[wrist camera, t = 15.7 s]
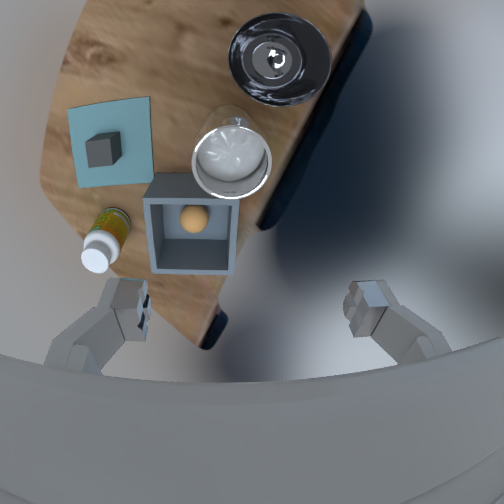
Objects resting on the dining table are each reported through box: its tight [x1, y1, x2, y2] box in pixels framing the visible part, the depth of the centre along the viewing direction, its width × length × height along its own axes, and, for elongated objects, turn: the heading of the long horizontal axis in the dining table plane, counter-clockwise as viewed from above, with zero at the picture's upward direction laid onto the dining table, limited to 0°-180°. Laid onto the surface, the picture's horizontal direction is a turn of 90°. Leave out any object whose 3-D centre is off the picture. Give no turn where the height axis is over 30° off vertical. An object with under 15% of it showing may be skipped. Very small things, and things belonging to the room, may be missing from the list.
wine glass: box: [227, 12, 332, 107], centre depth 24 cm, size 8×8×15 cm
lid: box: [68, 97, 154, 188], centre depth 32 cm, size 12×12×5 cm
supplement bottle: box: [81, 208, 130, 273], centre depth 37 cm, size 5×5×10 cm
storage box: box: [143, 173, 240, 275], centre depth 38 cm, size 11×11×8 cm
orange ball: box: [180, 205, 209, 233], centre depth 39 cm, size 4×4×4 cm
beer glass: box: [192, 105, 272, 200], centre depth 29 cm, size 7×7×15 cm
